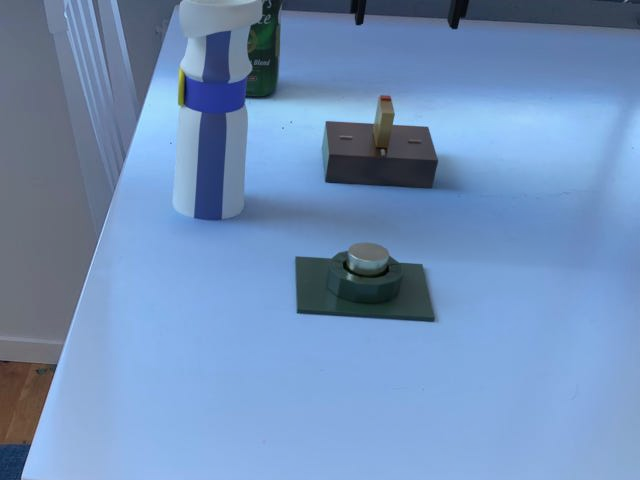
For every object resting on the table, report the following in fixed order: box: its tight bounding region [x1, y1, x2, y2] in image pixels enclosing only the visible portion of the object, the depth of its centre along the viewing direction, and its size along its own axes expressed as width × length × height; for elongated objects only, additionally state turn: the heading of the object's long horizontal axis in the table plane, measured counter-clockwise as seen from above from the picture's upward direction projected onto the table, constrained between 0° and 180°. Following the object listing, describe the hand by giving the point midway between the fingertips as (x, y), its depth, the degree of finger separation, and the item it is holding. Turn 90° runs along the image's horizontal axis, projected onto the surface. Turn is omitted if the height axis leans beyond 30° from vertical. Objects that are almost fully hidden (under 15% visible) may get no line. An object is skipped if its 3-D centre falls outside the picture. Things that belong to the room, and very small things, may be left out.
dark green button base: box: [294, 250, 436, 323], centre depth 86 cm, size 12×10×4 cm
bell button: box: [345, 242, 390, 278], centre depth 84 cm, size 4×4×2 cm
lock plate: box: [321, 120, 439, 189], centre depth 108 cm, size 12×10×3 cm
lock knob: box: [373, 94, 396, 148], centre depth 105 cm, size 5×1×4 cm, turn 175°
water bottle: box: [172, 0, 262, 221], centre depth 92 cm, size 8×9×25 cm
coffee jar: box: [246, 0, 283, 97], centre depth 119 cm, size 10×8×19 cm
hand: (405, 23), depth 97 cm, fingers open, 9 cm apart
